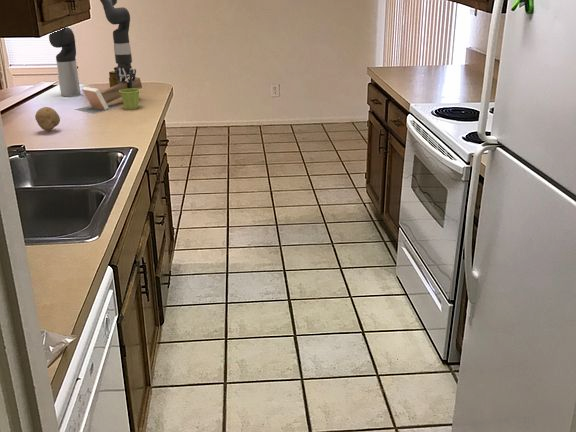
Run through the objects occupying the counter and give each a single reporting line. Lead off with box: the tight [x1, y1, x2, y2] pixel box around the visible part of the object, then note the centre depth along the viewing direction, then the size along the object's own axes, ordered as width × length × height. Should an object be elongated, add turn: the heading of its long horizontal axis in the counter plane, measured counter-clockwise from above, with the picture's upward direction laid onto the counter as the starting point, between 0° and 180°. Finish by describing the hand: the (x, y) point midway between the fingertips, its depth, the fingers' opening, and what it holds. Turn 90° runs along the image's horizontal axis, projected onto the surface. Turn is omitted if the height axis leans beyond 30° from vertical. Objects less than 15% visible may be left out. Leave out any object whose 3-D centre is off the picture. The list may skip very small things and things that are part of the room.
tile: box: [81, 86, 109, 111], centre depth 280 cm, size 10×2×10 cm, turn 53°
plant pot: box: [119, 88, 141, 110], centre depth 283 cm, size 9×9×9 cm
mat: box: [74, 104, 120, 114], centre depth 284 cm, size 14×15×1 cm
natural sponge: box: [35, 106, 61, 133], centre depth 248 cm, size 9×9×10 cm
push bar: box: [100, 76, 143, 104], centre depth 290 cm, size 4×24×5 cm, turn 143°
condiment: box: [108, 70, 121, 88], centre depth 310 cm, size 7×8×12 cm
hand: (127, 89), depth 294 cm, fingers closed on push bar, 3 cm apart
